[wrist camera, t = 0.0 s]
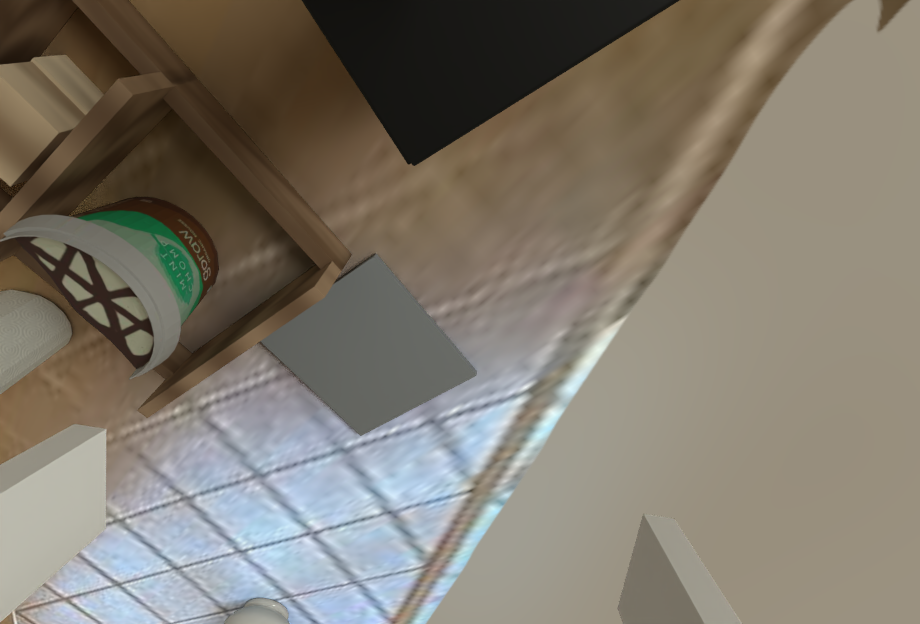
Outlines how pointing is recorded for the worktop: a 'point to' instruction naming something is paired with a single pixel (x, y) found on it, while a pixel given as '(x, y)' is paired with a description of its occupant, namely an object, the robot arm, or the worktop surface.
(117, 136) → the rack
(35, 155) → the offcut upper
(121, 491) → the worktop surface
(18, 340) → the paper towel roll
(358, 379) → the mat
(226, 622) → the flower vase
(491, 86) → the black bar
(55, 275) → the food container
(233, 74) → the worktop surface
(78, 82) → the offcut lower
